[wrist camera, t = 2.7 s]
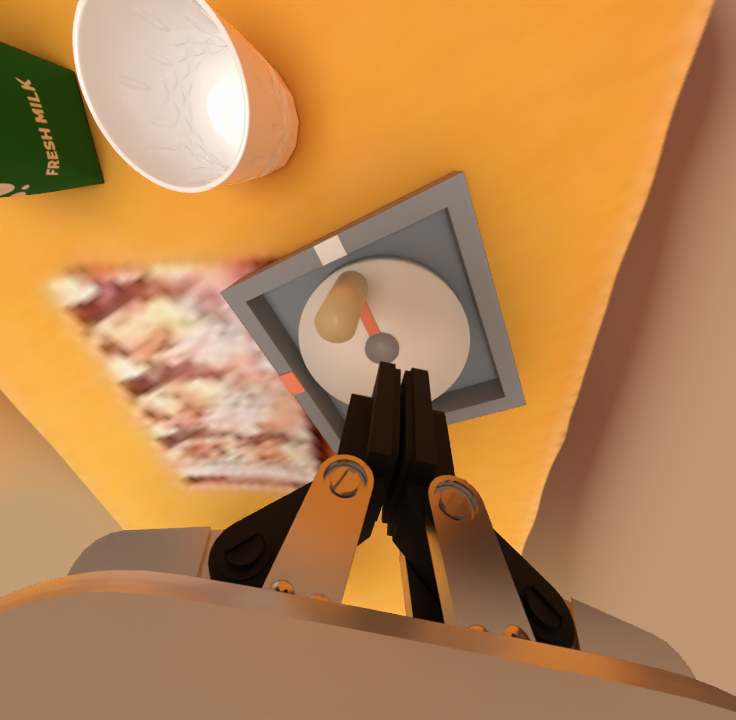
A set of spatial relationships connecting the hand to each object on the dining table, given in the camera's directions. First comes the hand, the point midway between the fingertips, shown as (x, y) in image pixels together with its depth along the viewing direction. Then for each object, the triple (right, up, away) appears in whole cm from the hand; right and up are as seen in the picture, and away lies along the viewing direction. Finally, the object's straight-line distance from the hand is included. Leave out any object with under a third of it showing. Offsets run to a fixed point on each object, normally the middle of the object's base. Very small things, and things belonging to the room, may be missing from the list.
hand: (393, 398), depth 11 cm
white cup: (-9, +19, +12) cm, 24 cm away
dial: (0, +4, +18) cm, 18 cm away
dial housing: (+1, +4, +19) cm, 20 cm away
